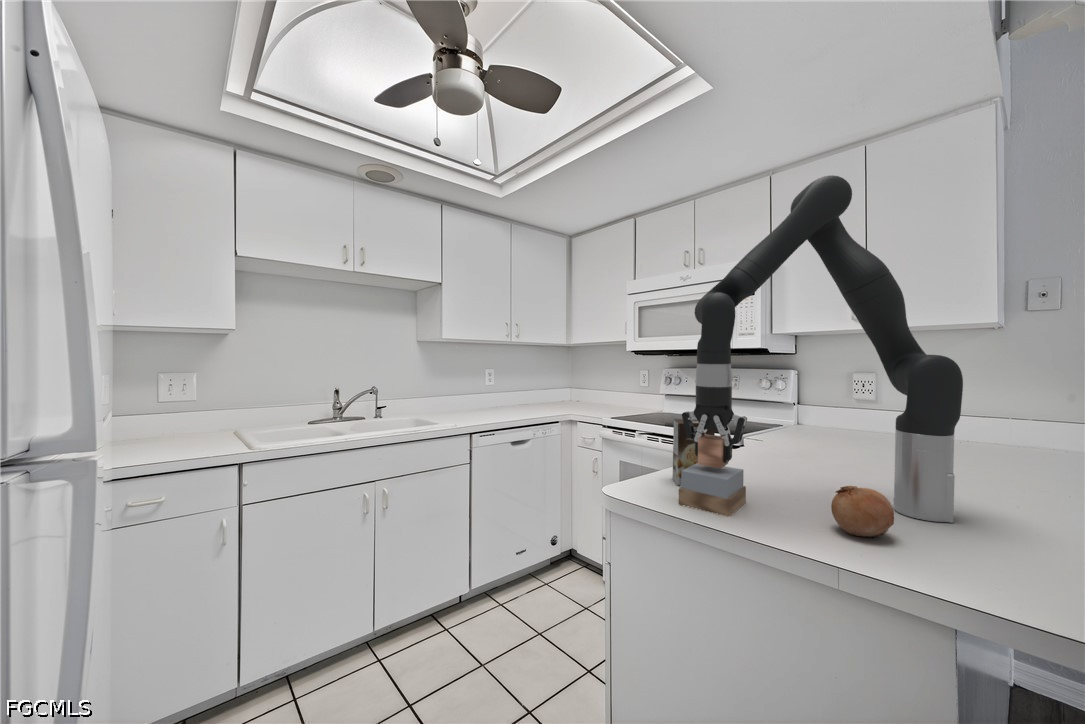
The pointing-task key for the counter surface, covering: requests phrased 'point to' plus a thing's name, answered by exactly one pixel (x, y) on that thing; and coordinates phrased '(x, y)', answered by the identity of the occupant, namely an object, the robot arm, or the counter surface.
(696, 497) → the walnut block
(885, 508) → the onion
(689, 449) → the coffee box
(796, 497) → the counter surface
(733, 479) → the slate block
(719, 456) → the terracotta block
